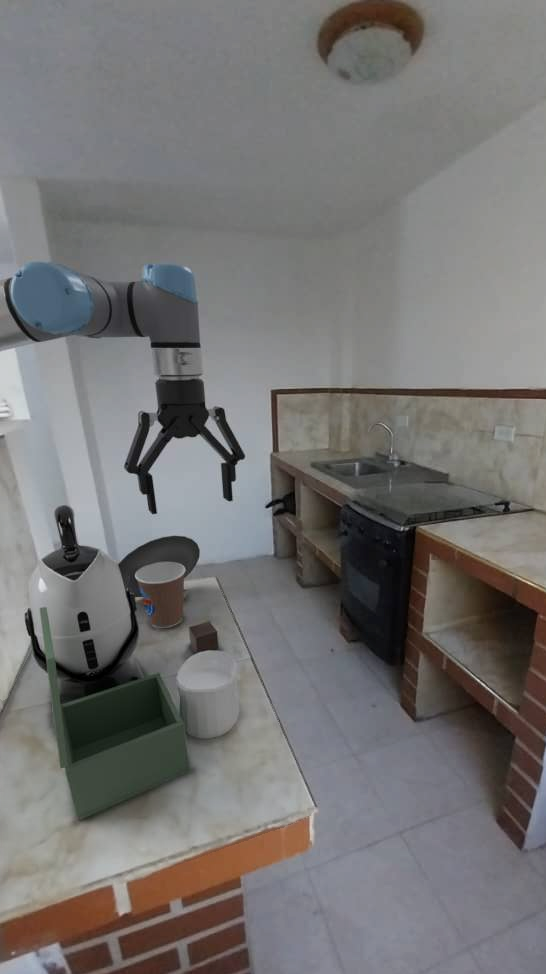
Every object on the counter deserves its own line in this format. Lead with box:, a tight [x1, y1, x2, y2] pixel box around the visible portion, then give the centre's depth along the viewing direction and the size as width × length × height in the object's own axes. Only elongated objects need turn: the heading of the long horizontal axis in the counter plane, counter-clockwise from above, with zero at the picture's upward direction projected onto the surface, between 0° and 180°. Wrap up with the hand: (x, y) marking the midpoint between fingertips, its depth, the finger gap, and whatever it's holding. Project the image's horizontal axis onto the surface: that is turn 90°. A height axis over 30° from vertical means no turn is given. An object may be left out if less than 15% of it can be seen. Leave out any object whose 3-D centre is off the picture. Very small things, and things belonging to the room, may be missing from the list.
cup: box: [175, 650, 240, 739], centre depth 73 cm, size 10×10×10 cm
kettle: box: [24, 504, 145, 726], centre depth 74 cm, size 24×16×32 cm, turn 29°
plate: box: [117, 535, 201, 598], centre depth 106 cm, size 21×21×2 cm
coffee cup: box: [135, 562, 185, 629], centre depth 100 cm, size 10×10×12 cm
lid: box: [40, 607, 68, 769], centre depth 57 cm, size 15×13×1 cm
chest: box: [61, 672, 191, 821], centre depth 65 cm, size 15×13×9 cm
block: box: [188, 620, 220, 654], centre depth 92 cm, size 4×4×4 cm
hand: (191, 505), depth 81 cm, fingers open, 13 cm apart
